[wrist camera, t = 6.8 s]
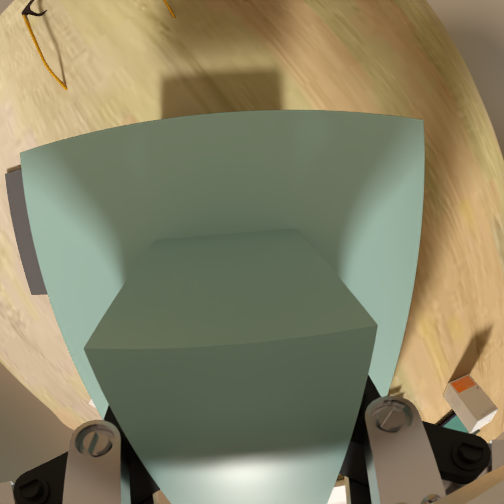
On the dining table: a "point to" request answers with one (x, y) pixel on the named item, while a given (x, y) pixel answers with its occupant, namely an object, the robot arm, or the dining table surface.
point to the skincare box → (469, 403)
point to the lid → (233, 286)
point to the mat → (24, 232)
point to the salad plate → (338, 493)
